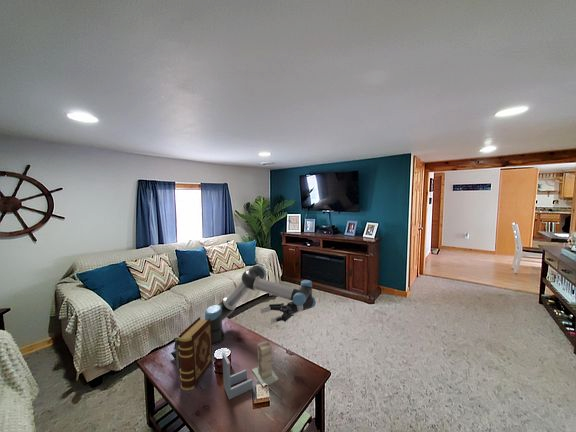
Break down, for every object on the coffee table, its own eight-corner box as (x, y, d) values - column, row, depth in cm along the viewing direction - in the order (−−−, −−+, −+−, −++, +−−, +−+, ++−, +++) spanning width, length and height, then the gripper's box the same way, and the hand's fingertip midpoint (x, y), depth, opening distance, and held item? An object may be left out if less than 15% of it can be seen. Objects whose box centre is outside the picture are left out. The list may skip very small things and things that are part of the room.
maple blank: (258, 372, 139) (257, 344, 137) (267, 368, 142) (266, 340, 140) (262, 379, 134) (261, 350, 132) (271, 375, 137) (271, 346, 135)
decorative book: (191, 391, 127) (188, 339, 124) (178, 389, 129) (175, 338, 126) (212, 362, 149) (210, 317, 146) (201, 360, 151) (199, 316, 148)
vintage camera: (185, 352, 160) (182, 324, 158) (194, 362, 149) (192, 332, 147) (170, 359, 153) (167, 330, 151) (178, 371, 142) (176, 340, 140)
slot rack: (223, 387, 130) (222, 353, 128) (246, 377, 137) (245, 344, 135) (229, 399, 122) (227, 363, 120) (252, 388, 129) (251, 354, 127)
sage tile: (252, 370, 142) (252, 369, 142) (266, 364, 147) (266, 363, 147) (262, 387, 129) (262, 386, 129) (278, 380, 134) (278, 378, 134)
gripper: (305, 321, 144) (275, 332, 133) (285, 304, 165) (257, 313, 154) (305, 309, 144) (275, 319, 133) (284, 294, 165) (257, 302, 154)
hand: (265, 316), depth 143 cm, fingers open, 13 cm apart
